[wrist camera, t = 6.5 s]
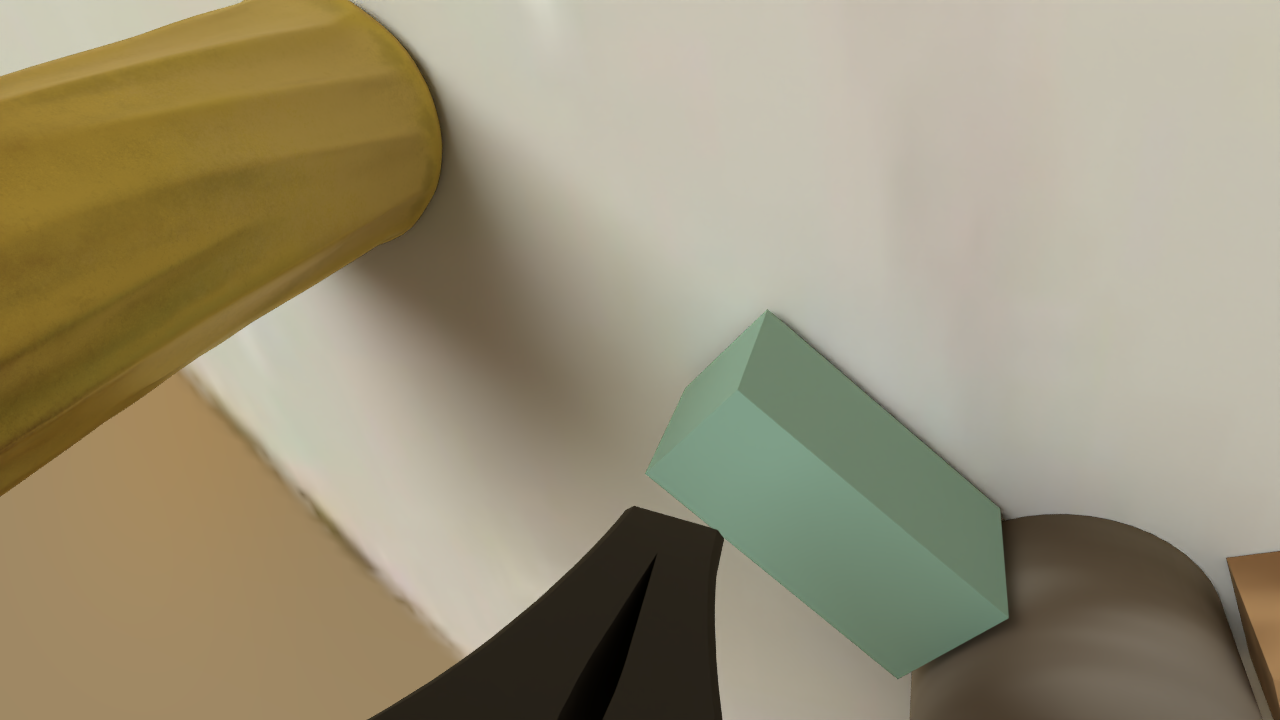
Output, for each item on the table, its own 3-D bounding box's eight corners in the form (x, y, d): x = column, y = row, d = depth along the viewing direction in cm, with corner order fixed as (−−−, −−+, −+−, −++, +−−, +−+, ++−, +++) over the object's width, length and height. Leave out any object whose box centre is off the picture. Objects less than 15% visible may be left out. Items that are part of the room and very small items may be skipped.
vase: (434, 275, 23) (-129, 761, 11) (219, 199, 23) (-527, 576, 12) (459, 29, 19) (-316, 345, 7) (208, -50, 20) (-860, 120, 8)
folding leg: (1000, 509, 21) (1008, 617, 18) (903, 570, 23) (897, 679, 20) (767, 309, 20) (737, 389, 17) (685, 388, 22) (645, 473, 19)
